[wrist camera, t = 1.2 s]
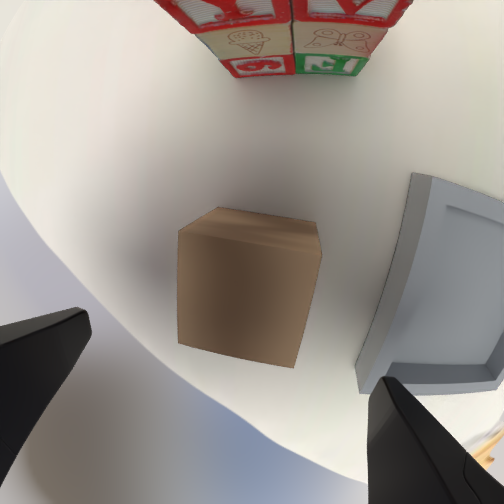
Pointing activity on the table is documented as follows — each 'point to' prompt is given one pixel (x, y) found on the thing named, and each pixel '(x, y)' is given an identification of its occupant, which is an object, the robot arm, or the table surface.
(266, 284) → the walnut cube
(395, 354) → the grey tray
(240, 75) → the stack of blocks
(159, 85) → the table surface
